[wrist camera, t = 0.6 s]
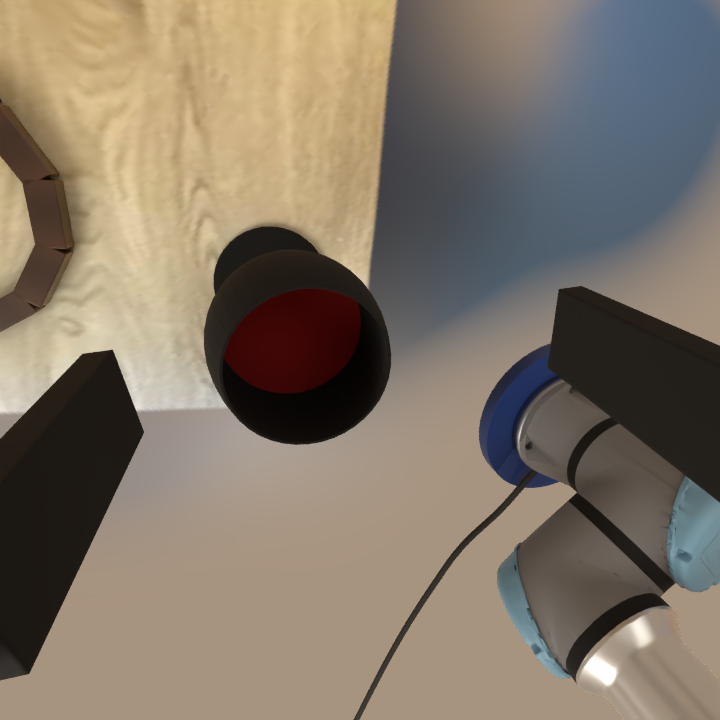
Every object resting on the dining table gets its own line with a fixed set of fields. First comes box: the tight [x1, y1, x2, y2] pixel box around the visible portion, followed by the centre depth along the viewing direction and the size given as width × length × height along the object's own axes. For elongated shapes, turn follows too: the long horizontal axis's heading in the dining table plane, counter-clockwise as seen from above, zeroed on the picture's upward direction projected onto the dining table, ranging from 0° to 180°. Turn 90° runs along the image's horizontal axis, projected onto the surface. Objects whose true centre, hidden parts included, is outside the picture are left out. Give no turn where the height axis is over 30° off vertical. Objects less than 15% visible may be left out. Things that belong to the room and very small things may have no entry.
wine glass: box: [204, 227, 391, 445], centre depth 30 cm, size 10×10×20 cm
